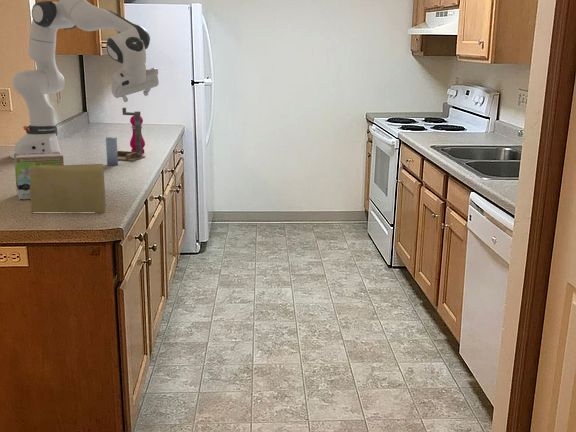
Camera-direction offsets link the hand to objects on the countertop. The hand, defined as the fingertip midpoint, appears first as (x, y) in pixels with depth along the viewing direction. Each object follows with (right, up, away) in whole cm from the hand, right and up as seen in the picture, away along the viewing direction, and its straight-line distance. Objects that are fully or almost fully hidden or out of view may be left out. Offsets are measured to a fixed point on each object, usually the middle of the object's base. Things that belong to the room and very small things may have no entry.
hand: (135, 97), depth 265 cm
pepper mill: (-8, -20, +35) cm, 42 cm away
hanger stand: (-9, -24, +21) cm, 33 cm away
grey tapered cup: (-12, -28, +6) cm, 31 cm away
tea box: (-20, -44, -51) cm, 70 cm away
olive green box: (-4, -50, -70) cm, 86 cm away
